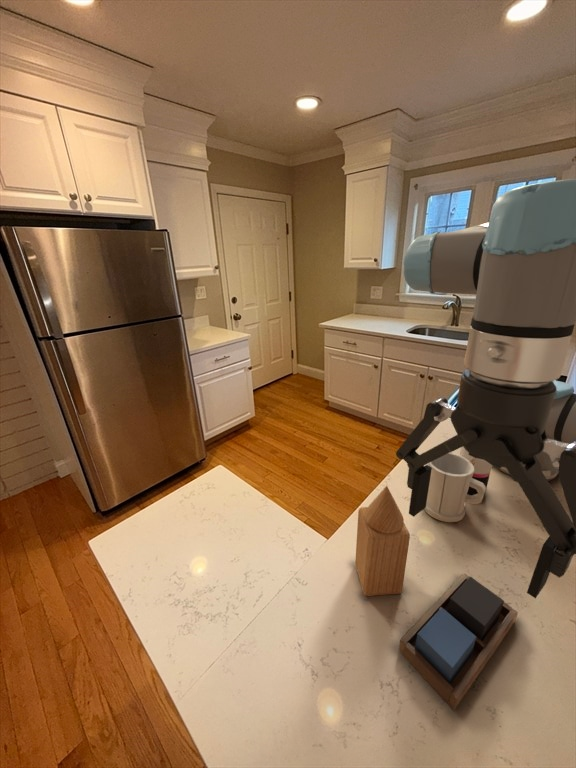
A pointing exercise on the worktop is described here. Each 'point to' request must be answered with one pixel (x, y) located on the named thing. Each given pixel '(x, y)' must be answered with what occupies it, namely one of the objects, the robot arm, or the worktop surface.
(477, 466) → the beverage can
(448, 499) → the cup
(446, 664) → the slate blue block
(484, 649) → the holder
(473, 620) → the dark grey block
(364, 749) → the worktop surface
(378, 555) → the decorative item
